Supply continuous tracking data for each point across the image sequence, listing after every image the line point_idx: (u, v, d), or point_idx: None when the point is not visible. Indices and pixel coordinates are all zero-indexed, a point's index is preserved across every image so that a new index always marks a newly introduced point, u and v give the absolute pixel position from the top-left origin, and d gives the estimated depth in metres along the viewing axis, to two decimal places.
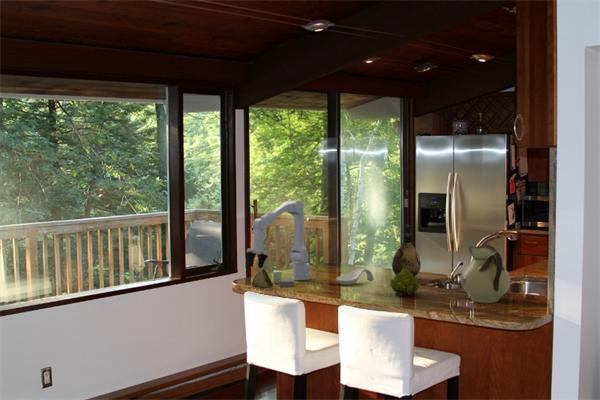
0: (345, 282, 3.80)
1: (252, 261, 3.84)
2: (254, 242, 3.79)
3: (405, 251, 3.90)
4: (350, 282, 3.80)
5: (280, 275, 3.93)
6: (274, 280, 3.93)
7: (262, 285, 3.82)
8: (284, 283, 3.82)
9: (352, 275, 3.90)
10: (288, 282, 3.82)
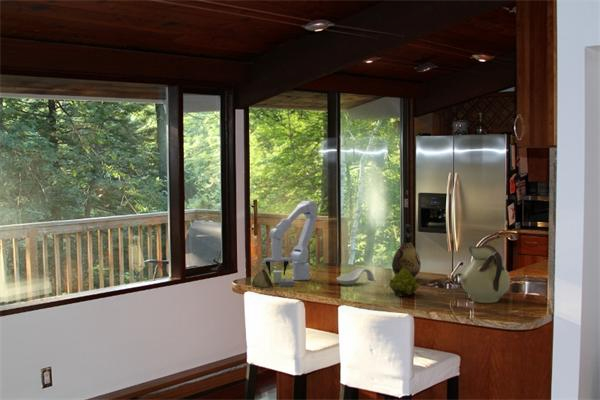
0: (345, 282, 3.80)
1: None
2: (277, 252, 3.91)
3: (405, 251, 3.90)
4: (350, 282, 3.80)
5: (280, 275, 3.93)
6: (274, 280, 3.93)
7: (262, 285, 3.82)
8: (284, 283, 3.82)
9: (352, 275, 3.90)
10: (288, 282, 3.82)
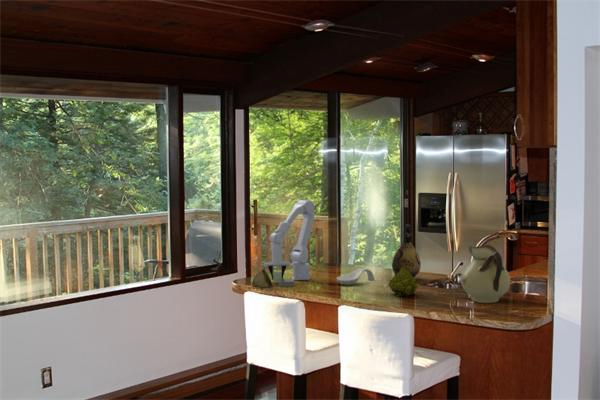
0: (345, 282, 3.80)
1: None
2: (277, 256, 3.92)
3: (405, 251, 3.90)
4: (350, 282, 3.81)
5: (280, 275, 3.93)
6: (274, 280, 3.93)
7: (262, 285, 3.82)
8: (284, 283, 3.82)
9: (353, 275, 3.91)
10: (288, 282, 3.82)
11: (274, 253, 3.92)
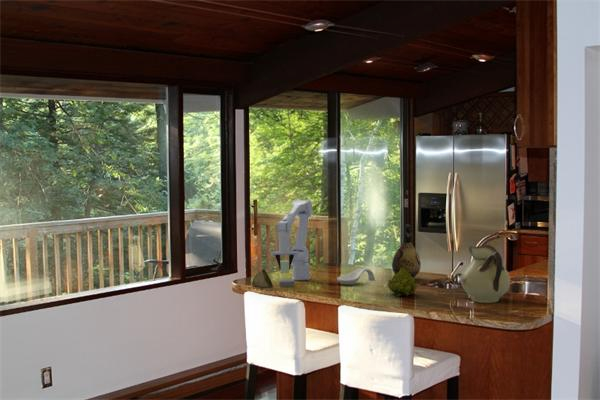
0: (345, 282, 3.81)
1: None
2: (285, 245, 3.83)
3: (405, 251, 3.90)
4: (350, 282, 3.81)
5: (287, 265, 3.84)
6: (281, 270, 3.84)
7: (262, 285, 3.82)
8: (284, 283, 3.82)
9: (353, 275, 3.91)
10: (288, 282, 3.82)
11: (284, 242, 3.83)
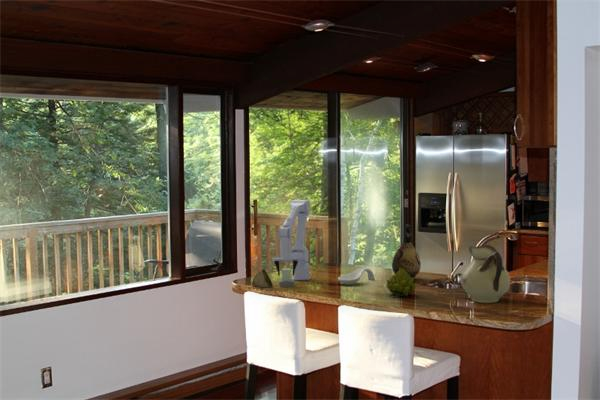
0: (347, 282, 3.81)
1: None
2: (286, 251, 3.82)
3: (405, 251, 3.90)
4: (352, 282, 3.81)
5: (289, 273, 3.83)
6: (283, 278, 3.83)
7: (262, 285, 3.82)
8: (284, 283, 3.82)
9: (353, 275, 3.91)
10: (288, 282, 3.82)
11: (286, 248, 3.82)
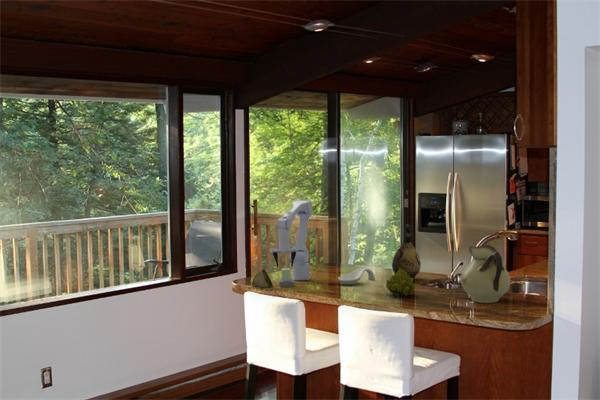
0: (347, 282, 3.81)
1: None
2: (285, 242, 3.83)
3: (405, 251, 3.90)
4: (352, 282, 3.81)
5: (289, 273, 3.84)
6: (283, 278, 3.84)
7: (262, 285, 3.82)
8: (284, 283, 3.82)
9: (354, 275, 3.91)
10: (288, 282, 3.82)
11: (284, 239, 3.83)
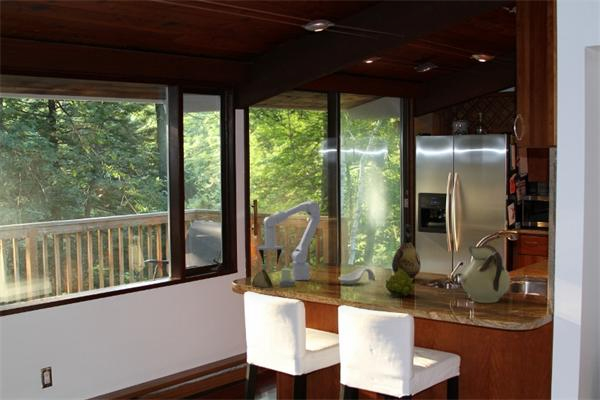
0: (347, 282, 3.81)
1: None
2: (270, 240, 3.94)
3: (405, 251, 3.90)
4: (352, 282, 3.81)
5: (289, 273, 3.84)
6: (283, 278, 3.84)
7: (262, 285, 3.82)
8: (284, 283, 3.82)
9: (354, 275, 3.91)
10: (288, 282, 3.82)
11: (266, 237, 3.95)
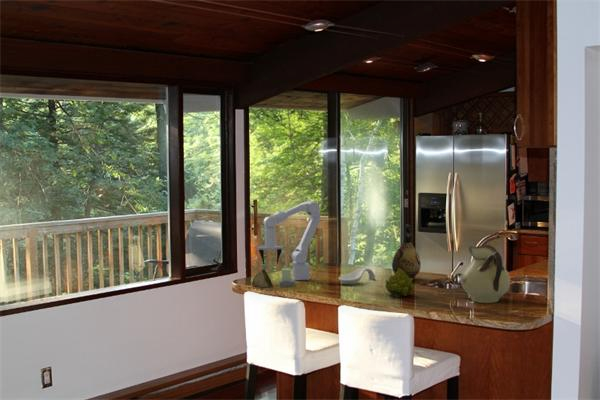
0: (347, 282, 3.81)
1: None
2: (270, 240, 3.94)
3: (405, 251, 3.90)
4: (352, 282, 3.81)
5: (289, 273, 3.84)
6: (283, 278, 3.84)
7: (262, 285, 3.82)
8: (284, 283, 3.82)
9: (354, 275, 3.91)
10: (288, 282, 3.82)
11: (266, 237, 3.95)
